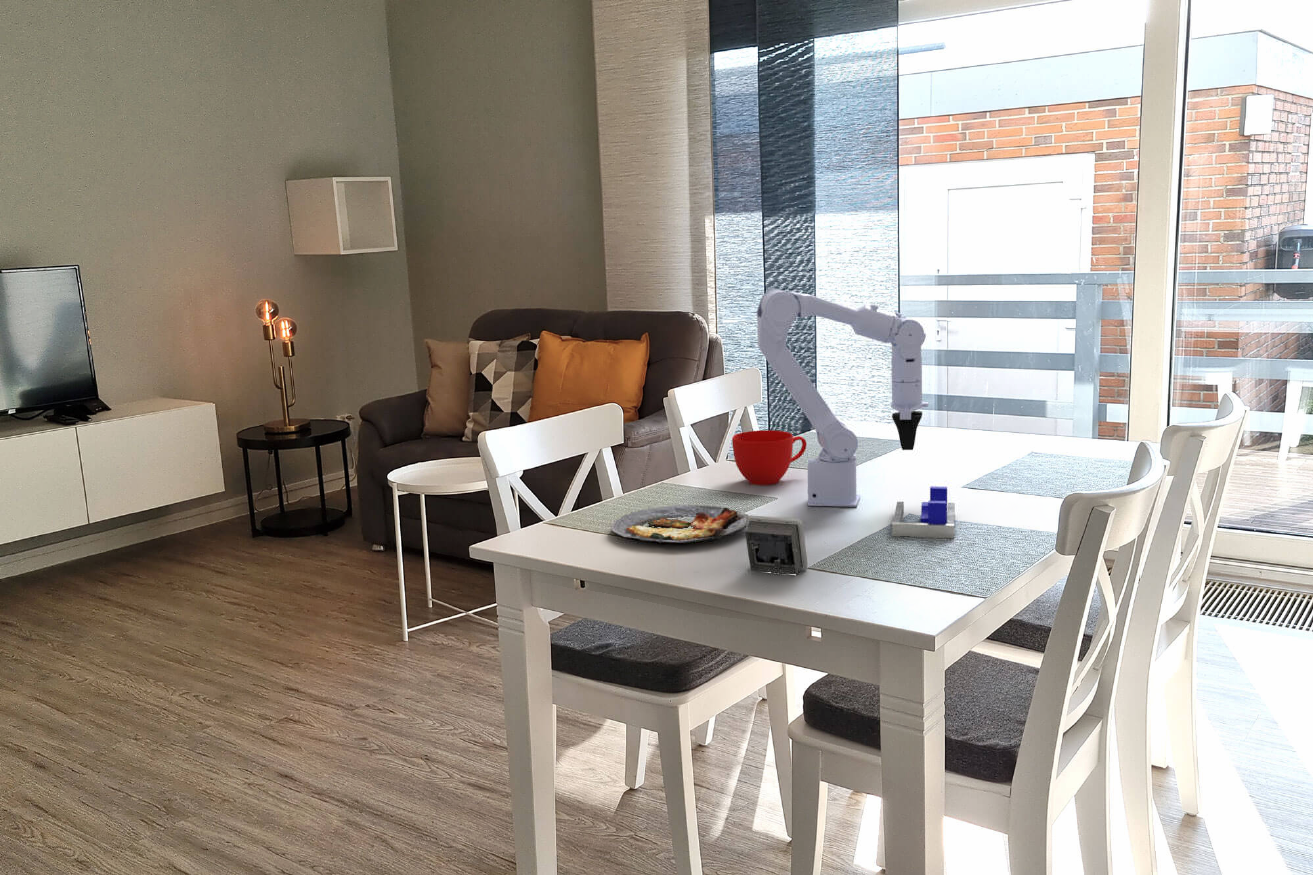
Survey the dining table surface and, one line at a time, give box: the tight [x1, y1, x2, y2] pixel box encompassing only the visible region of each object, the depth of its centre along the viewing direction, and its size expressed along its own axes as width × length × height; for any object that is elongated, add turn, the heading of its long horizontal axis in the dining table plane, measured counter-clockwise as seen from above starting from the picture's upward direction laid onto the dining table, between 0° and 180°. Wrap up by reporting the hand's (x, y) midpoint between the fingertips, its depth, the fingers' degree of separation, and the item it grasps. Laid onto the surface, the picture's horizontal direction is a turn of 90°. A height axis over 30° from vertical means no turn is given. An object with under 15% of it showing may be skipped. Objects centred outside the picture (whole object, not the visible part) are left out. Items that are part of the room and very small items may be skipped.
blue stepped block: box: [920, 485, 948, 524], centre depth 193 cm, size 12×4×6 cm, turn 164°
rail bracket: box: [891, 501, 956, 539], centre depth 194 cm, size 10×15×2 cm
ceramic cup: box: [731, 430, 807, 486], centre depth 232 cm, size 13×17×10 cm
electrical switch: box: [744, 515, 809, 576], centre depth 172 cm, size 9×5×9 cm, turn 65°
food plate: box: [611, 504, 749, 544], centre depth 198 cm, size 25×23×4 cm
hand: (907, 449), depth 211 cm, fingers closed
